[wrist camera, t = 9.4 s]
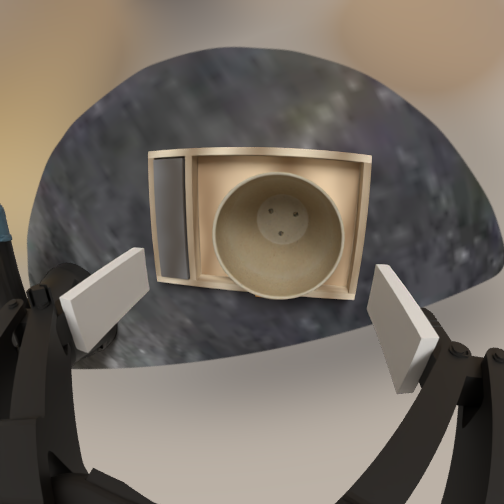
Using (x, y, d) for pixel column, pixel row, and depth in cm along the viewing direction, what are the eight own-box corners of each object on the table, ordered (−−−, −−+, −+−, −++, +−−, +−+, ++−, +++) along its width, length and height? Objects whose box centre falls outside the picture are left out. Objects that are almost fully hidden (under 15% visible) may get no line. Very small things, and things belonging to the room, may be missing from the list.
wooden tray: (165, 274, 32) (155, 284, 30) (158, 151, 27) (145, 151, 25) (350, 291, 29) (354, 303, 26) (366, 155, 24) (373, 155, 21)
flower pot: (240, 268, 30) (222, 301, 23) (228, 173, 26) (203, 179, 20) (335, 264, 28) (343, 298, 21) (331, 165, 24) (342, 168, 18)
